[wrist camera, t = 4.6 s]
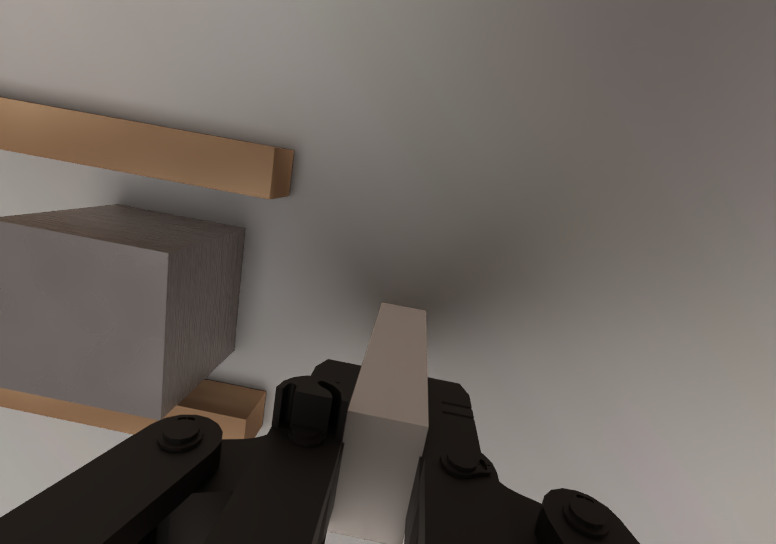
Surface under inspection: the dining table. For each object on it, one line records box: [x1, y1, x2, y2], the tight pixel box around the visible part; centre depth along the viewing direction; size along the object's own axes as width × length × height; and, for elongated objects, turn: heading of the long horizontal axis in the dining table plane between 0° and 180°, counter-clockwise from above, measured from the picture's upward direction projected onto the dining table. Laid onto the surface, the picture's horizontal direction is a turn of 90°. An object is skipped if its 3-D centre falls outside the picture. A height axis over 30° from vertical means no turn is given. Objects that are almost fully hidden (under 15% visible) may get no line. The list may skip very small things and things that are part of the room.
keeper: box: [0, 204, 245, 420], centre depth 14 cm, size 5×5×5 cm
